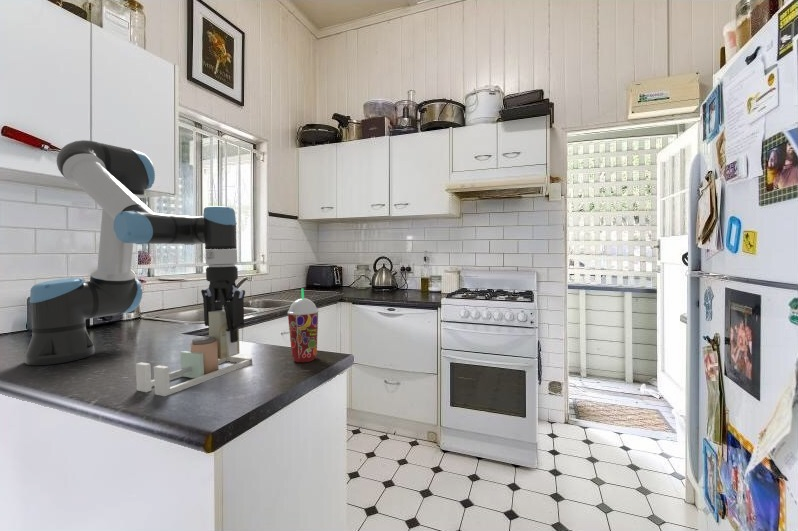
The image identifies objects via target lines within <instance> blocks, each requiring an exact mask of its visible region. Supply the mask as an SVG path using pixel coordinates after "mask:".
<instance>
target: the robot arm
mask: <svg viewBox="0 0 798 531" xmlns="http://www.w3.org/2000/svg"><path fill="white" fill-rule="evenodd" d="M56 166H57V170H58V171H59V172H60V175H62V177H64V178H65V179H66V180H67V182H69V183H71V184H72V185H74V186H77V187H79V188H80V189H82V190H83V191H84V192H85V193H86V194H87V195H88V196H89V197H90V198H91V199H92V200H93V201H94V202H95V203H96V204H98V206H99V207H100V208H101V209H102V212H101V222H100V223H101V224H100V232H99V233H100V236H99V245H98V246H99V247H98V254H97V255H98V258H97V268H96V270H94V271H92V272H91V273H90V279H89V280H88V281H87V280H86V281H85V280H84V279H83V277H70V278H69V277H68V278H60V279H54V280H49V281H43V282H39V283H36V284H34V285H33V286H31V288H30V297H29V303H30V314H31V315H30V316H31V334H32V336H31V338H30V342H29V344H28V347H27V350H26V352H25V356H24V361H25V365H27V366H46V365H56V364H63V363H69V362H74V361H79V360H81V359H85V358H88V357H90V356H93V355H94V354H95V345H94V343H93V341H92V339H91V337H90V335H89V332H88V330H87V327H86V326H87V325H86V324H87V323H86V320H89V319H95V318H102V317H110V316H120V315H123V314H127V313H130V312H131V313H132V312H134V311H135V310H136V309H137V308H138V307H139V305H140V303H141V302H142V298H143V288H142V283H141V282H140V281H139V280H138V279H137V278H136V275H135V274H134V273H133V272H132V270H131V269H132V260H133V259H132V258H133V252H134V251H133V249H134V244H135V245H146V244H147V245H149V244H150V245H155V244H158V245H159V244H161V245H162V244H165V245H189V246H192V245H201V244H204V249H205V264H206V266H207V267H206V268H205V276H206V277H205V278H206V281H207V282H209V285H208V288H204V289H201V290H200V293H201V296H202V302H203V319H204V322H203V323H204V326H205V327H209V313H208V312H212V311H218V310H223V309H224V310H225V312H226V320H227V325H228V329H226V348H227V356H230V355H233V354H236V353H237V341H238V329H239V330H240V329H241V328H243V327H244V326H245V313H244V312H245V309H244V308H245V304H244V303H245V294H246V290H245V289H239V288H238V287H237V285H236V284H237V283H236V281H237V280H238V279H239V277H238V276H239V275H238V266H236V264H238V249H237V248H238V247H237V246H238V245H237V242H238V241H237V220H236V218H237V217H236V211H235V210H234V208H233V207H229V206H224V205H223V206H222V205H220V206H219V205H211V206H210V205H209V206H205V207H204V209H203V214H202V215H199V216H196V215H195V216H194V215H193V216H190V215H177V214H170V213H169V214H168V213H167V214H166V213H157V212H154V211H152V210H151V208H149V207H148V206H147V205H146V204H145V203H144V202H143V201H141V200H140V199H141V198H142V197H144V196H145V191H147V190H150V189H151V188H152V187H153V185H154V183H155V179H156V175H155V174H156V173H155V167H154V164H153V162H152V160H151V159H150V158H149V156H148V155H146V154H145V153H143V152H142V151H141V152H140V151H137V150H135V149H131V148H127V147H126V148H125V147H121V146H115V145H112V144H107V143H101V142H99V141H98V142H97V141H93V140H86V139H82V140H81V139H80V140H75V141H72V142H69V143H67V144H66V145H64V146H63V147H61V149H60V150H59V152H58V154H57V157H56Z"/></svg>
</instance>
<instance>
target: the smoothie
mask: <svg viewBox="0 0 798 531" xmlns="http://www.w3.org/2000/svg"><path fill="white" fill-rule="evenodd" d="M300 294H301V296H300V297H301V298H298V299H295V300H294V301H293V302H292V303H291V305H290V307H289V309H288V311H287V317H288V318H287V319H288V330H289V331H288V332H289V341H290V349H291V357H292V358H293V361H294V362H296V363H310V362H312V361H314V360H315V359H316V355H317V354H318V335H319V334H318V332H319V331H318V330H319V309H318V308H317V306H316V304H315V303H314V301H312V300H311V299H309V298H306V297H305V291H304V288H301V292H300Z"/></svg>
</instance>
